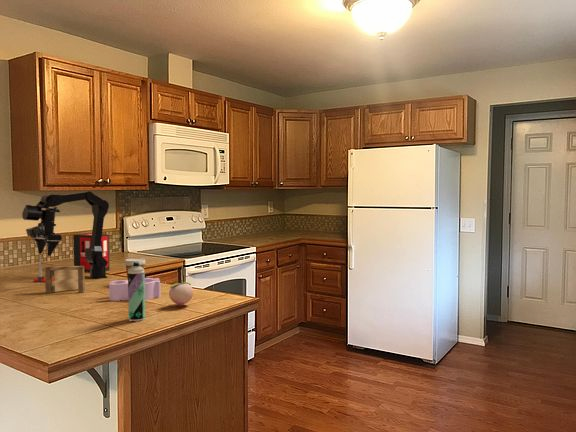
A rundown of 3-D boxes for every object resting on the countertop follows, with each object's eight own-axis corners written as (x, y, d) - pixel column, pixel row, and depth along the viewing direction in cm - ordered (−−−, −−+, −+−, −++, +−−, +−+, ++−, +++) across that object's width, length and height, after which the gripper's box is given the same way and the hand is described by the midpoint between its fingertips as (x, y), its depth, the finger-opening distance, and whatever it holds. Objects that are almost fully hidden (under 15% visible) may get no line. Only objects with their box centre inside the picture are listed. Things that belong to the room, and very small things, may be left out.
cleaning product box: (109, 270, 259) (108, 234, 258) (97, 273, 251) (96, 235, 249) (86, 268, 265) (85, 233, 264) (74, 270, 257) (73, 234, 256)
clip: (109, 303, 185) (108, 285, 185) (110, 296, 197) (109, 280, 197) (161, 299, 192) (160, 282, 191) (159, 292, 204) (158, 277, 203)
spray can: (130, 317, 164) (129, 261, 163) (146, 317, 164) (145, 260, 163) (126, 321, 159) (125, 263, 157) (143, 321, 159) (142, 263, 158)
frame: (45, 293, 202) (44, 267, 201) (47, 292, 204) (47, 266, 203) (83, 292, 202) (82, 266, 202) (84, 291, 204) (84, 266, 204)
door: (52, 291, 202) (51, 270, 201) (51, 291, 204) (50, 269, 203) (79, 288, 209) (78, 267, 208) (78, 287, 210) (77, 266, 210)
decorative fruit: (181, 310, 174) (180, 283, 173) (165, 307, 178) (165, 281, 178) (198, 304, 182) (198, 279, 181) (183, 302, 186) (182, 277, 186)
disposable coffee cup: (150, 283, 222) (149, 258, 221) (136, 287, 213) (135, 261, 213) (134, 282, 226) (134, 257, 225) (120, 285, 217) (119, 260, 217)
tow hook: (44, 279, 235) (31, 282, 226) (44, 253, 235) (31, 255, 226) (59, 279, 234) (47, 282, 225) (59, 254, 234) (47, 256, 225)
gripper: (20, 219, 217) (17, 252, 216) (38, 221, 205) (35, 256, 204) (45, 220, 225) (42, 253, 225) (63, 222, 213) (60, 256, 213)
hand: (44, 254), depth 216 cm, fingers open, 9 cm apart
